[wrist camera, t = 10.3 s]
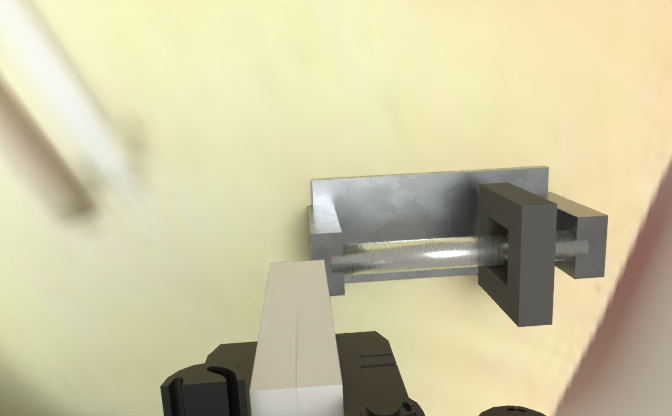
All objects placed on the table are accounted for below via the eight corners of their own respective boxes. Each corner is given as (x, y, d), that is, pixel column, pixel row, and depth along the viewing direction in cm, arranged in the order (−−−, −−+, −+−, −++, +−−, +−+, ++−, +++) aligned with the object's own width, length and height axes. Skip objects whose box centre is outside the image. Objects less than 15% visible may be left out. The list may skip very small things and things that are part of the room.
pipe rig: (312, 282, 51) (315, 329, 41) (306, 179, 49) (308, 202, 39) (545, 266, 53) (605, 308, 42) (550, 165, 50) (613, 184, 40)
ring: (478, 283, 48) (518, 327, 39) (479, 184, 46) (521, 206, 37) (505, 281, 48) (552, 324, 39) (507, 182, 46) (557, 204, 37)
